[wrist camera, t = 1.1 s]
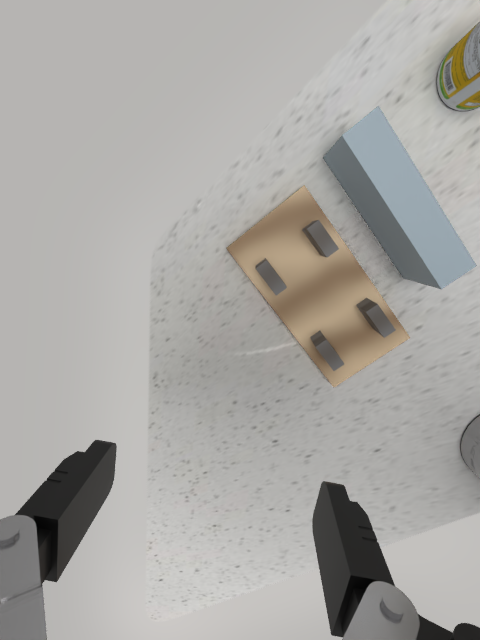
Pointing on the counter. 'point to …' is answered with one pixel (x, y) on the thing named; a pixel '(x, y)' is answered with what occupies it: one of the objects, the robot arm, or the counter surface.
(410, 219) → the blue grey rectangular block
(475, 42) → the supplement bottle
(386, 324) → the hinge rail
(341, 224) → the counter surface
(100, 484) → the robot arm
